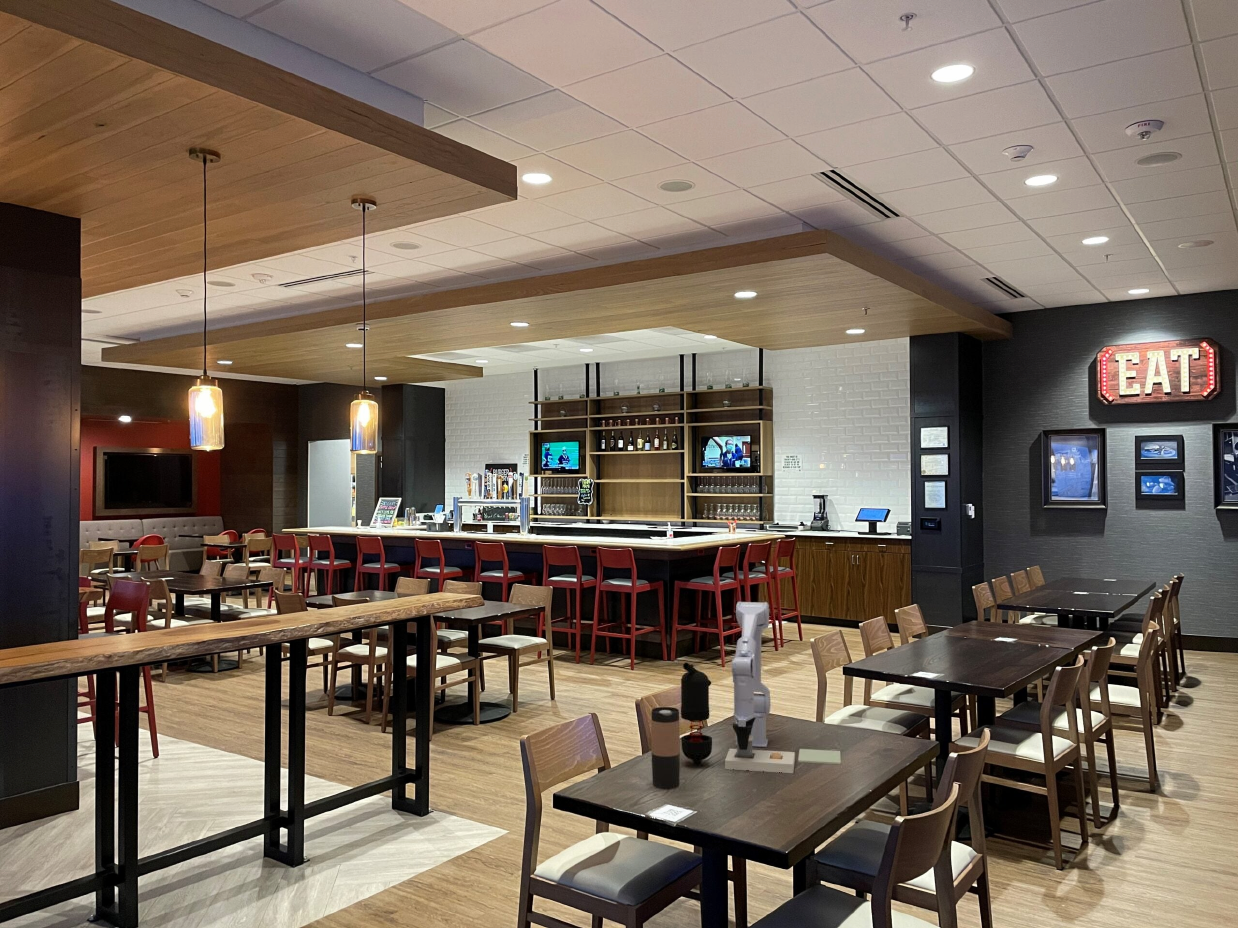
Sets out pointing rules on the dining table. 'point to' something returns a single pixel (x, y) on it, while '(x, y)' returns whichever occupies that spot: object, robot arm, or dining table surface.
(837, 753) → the mat
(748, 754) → the cylinder
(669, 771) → the travel mug
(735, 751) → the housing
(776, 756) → the plunger
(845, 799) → the dining table surface
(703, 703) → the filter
